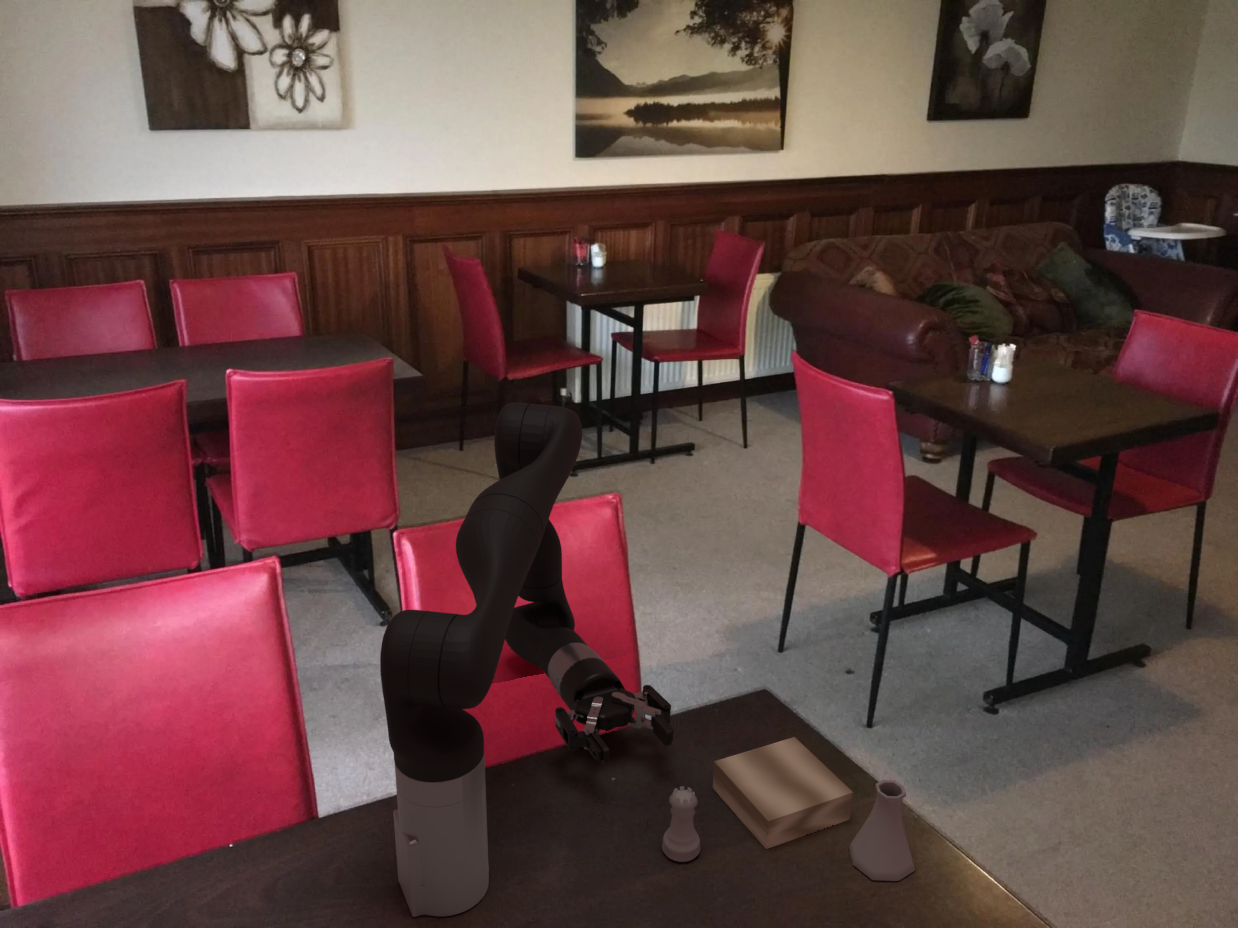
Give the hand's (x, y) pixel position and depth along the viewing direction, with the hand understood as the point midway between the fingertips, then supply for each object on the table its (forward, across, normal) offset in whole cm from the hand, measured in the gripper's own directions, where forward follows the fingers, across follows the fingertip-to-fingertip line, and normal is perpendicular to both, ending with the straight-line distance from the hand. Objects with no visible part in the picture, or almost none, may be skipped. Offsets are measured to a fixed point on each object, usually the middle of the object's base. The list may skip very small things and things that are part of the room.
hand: (638, 748), depth 126 cm
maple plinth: (+9, +15, +7) cm, 19 cm away
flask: (+22, +20, +7) cm, 31 cm away
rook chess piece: (+11, 0, +7) cm, 13 cm away
